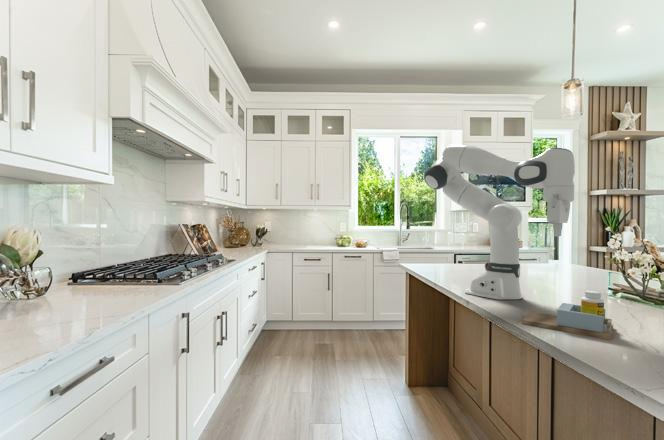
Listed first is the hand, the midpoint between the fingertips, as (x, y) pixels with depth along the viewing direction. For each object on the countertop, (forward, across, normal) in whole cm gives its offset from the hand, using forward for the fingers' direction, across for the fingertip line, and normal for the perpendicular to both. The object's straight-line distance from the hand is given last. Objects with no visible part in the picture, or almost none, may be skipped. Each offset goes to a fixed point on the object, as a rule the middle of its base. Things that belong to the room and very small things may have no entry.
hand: (557, 236), depth 122 cm
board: (+27, -11, -4) cm, 30 cm away
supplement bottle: (+26, -11, -11) cm, 30 cm away
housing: (+26, -11, -8) cm, 29 cm away
